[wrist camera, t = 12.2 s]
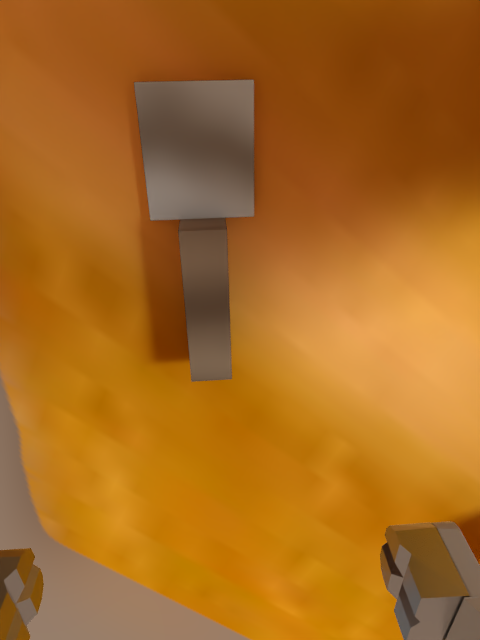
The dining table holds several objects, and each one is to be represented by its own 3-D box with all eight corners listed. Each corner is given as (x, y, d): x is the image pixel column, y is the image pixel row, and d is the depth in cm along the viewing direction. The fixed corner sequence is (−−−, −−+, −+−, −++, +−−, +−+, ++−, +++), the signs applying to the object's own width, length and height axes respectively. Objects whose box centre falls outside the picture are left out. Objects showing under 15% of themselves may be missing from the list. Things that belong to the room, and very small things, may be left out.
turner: (253, 352, 31) (257, 377, 29) (168, 356, 31) (165, 383, 28) (252, 79, 23) (258, 80, 20) (135, 81, 23) (127, 83, 20)
